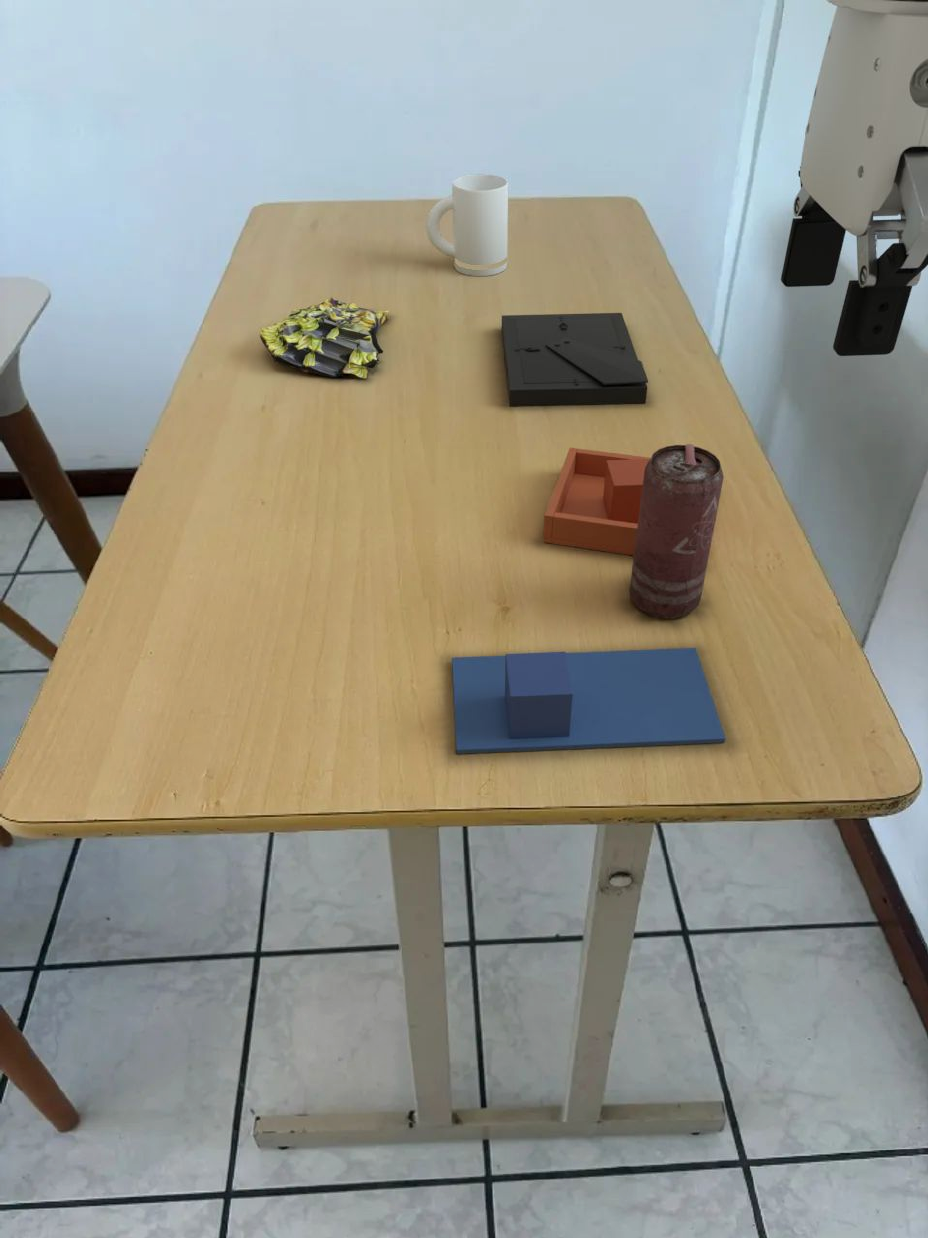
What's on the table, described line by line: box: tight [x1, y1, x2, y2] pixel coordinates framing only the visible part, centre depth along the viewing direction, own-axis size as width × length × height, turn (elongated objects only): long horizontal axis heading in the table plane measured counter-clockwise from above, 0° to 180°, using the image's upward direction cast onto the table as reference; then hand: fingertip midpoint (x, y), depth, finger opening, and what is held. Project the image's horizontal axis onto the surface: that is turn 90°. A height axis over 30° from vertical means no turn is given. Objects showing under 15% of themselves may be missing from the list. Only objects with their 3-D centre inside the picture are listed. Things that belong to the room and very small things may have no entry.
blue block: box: [505, 651, 573, 739], centre depth 71 cm, size 4×4×4 cm
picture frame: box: [501, 312, 649, 407], centre depth 118 cm, size 16×3×21 cm
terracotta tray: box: [542, 447, 651, 557], centre depth 93 cm, size 15×13×3 cm
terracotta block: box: [603, 459, 650, 524], centre depth 92 cm, size 4×4×4 cm
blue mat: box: [451, 647, 727, 755], centre depth 75 cm, size 20×10×1 cm, turn 92°
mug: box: [425, 173, 509, 277], centre depth 140 cm, size 8×12×12 cm
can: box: [629, 443, 724, 620], centre depth 80 cm, size 6×6×14 cm
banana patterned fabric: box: [259, 296, 390, 379], centre depth 124 cm, size 20×16×7 cm
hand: (832, 316), depth 56 cm, fingers open, 9 cm apart
